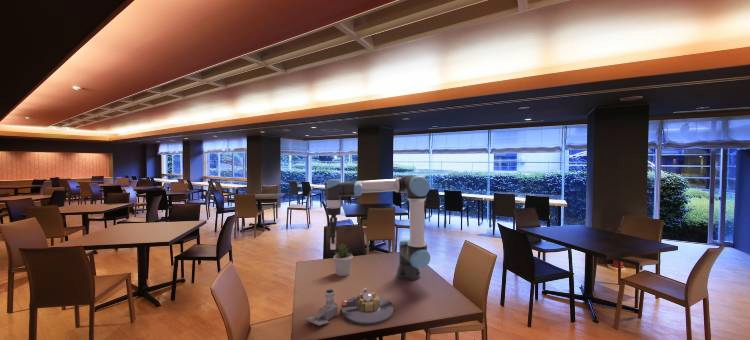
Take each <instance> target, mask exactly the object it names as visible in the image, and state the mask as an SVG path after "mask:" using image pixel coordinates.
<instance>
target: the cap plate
mask: <svg viewBox="0 0 750 340" xmlns="http://www.w3.org/2000/svg"><path fill="white" fill-rule="evenodd" d="M377 296H378V297H379V299H380V307H379V308H378V309H377V310H375V311H374V310H373V311H369V312H365V311H364V312H363V311H361V310H358V309H357V307H341V314H342V316H343V318H344V319H345V320H347V321H348V322H351V323H353V324H356V325H363V326H364V325H365V326H372V325H377V324H382V323H384V321H385V322H386V320H387V321H389V320H390V319H391V318H392V317H393V315H394V308H395V307H394V306H395V305H394V304H393V302H392V301H391V300H390V299H387V298H386V297H383V296H379V295H377ZM363 299H365V302H372V301H373V294H372V292H369V291H368V288H367V287H363ZM348 300H353V297H351V298H349V299H348Z"/></svg>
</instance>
